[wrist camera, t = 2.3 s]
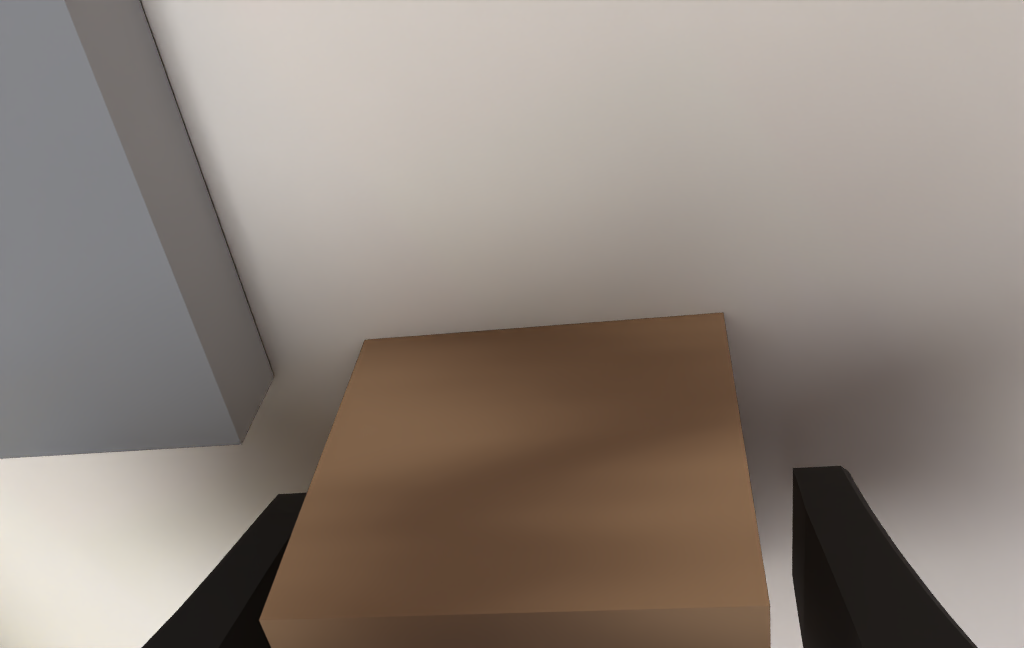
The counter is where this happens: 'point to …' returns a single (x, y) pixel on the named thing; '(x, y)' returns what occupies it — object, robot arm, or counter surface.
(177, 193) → the plate
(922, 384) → the counter surface
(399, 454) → the walnut cube
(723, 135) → the counter surface
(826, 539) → the robot arm
